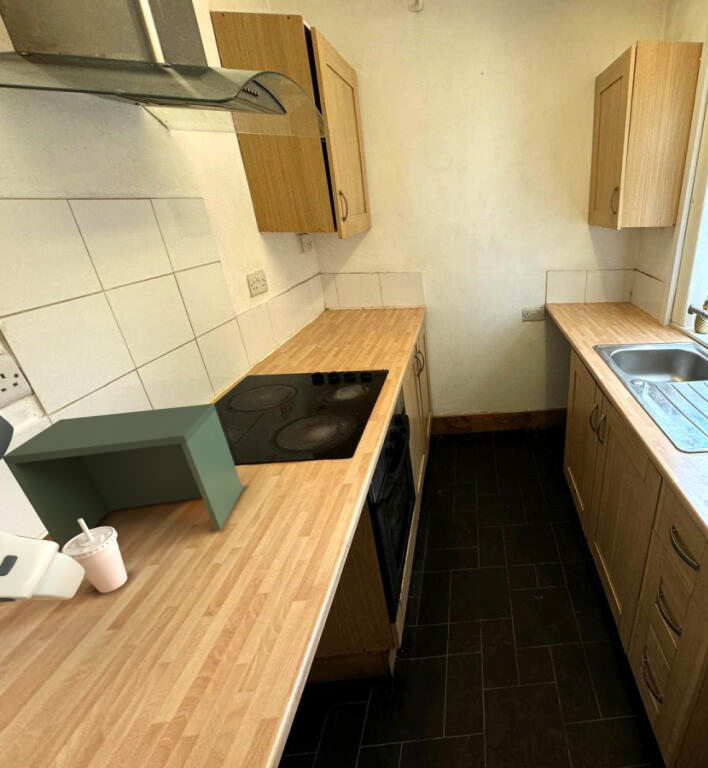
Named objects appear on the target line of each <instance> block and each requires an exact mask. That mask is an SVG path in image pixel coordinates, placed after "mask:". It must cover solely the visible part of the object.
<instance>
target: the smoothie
mask: <svg viewBox="0 0 708 768" xmlns="http://www.w3.org/2000/svg"><path fill="white" fill-rule="evenodd" d="M78 522H79V524H80V526H81V528H82V529H83V531H84V532H83V533H81V534H79V535H77V536H76V537H74V538H72V539H71V540H70V541H69V542H67V543H66V544H65V545H64V547H63V548H62V553H63V554H66V555H68V556H70V557H72V558H73V559H74V560H76V561H77V562H78V563H79V564H80V565H81V566H82V567H83V568H84V570H85V574H84V577H85V578H86V579H87V580H88V581H89V582H90V584H92V586H94V588H95V590H97V591H98V592H99V593H101V594H102V593H103V594H105V593H111V592H112V591H114V590H117V589H118V588H120V587H122V586H123V585H124V584H125V583H126V582H127V580H128V575H127V570H126V567H125V565H124V564H125V563H124V561H123V557H122V554H121V551H120V548H119V547H120V546H119V543H118V541H117V538H118V532H117V531H116V529H115V528H114V527H112V526H108V525H107V526H106V525H105V526H99V527H94V528H93V529H91V530H88V528H87V526H86V524H85V522H84V521H83V519H82V518H80V519H78Z"/></svg>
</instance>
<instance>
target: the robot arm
mask: <svg viewBox="0 0 708 768" xmlns="http://www.w3.org/2000/svg"><path fill="white" fill-rule="evenodd" d="M14 431H15V427H14V426H13V425H12V424H11V423H10V421H9V419H8V418H7V416H5V414H4V413H3V412H2V411H0V461H1V460H3V456H5V455H6V454H7V451H8V449H9V447H10V445H11V442H12V439H13V436H14ZM84 574H85V570H84V568H83V567H82V566H81V565H80V564H79V563H78V562H77V561H76V560H74V559H73V558H72V557H70V556H68V555H66V554H63V553H61V552H60V551H59V545H58V544H57V543H55V542H54V541H53V540H46V539H42V538H35V537H29V536H23V535H18V534H11V533H7V532H3V531H1V530H0V603H13V602H26V601H29V600H30V601H67V600H70V599H72V598H73V597H74V596H75V595H76V593H77V591H78V590H79V588H80V585H81V584H82V582H83V579H84V577H85V576H84Z"/></svg>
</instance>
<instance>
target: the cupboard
mask: <svg viewBox="0 0 708 768" xmlns="http://www.w3.org/2000/svg"><path fill="white" fill-rule="evenodd" d="M2 460H3V461H4V463H5V464H6V466H7V468H8V469H9V471H10V473H11V474H12V476H13V478H14V479H15V481H16V482H17V484H18V486H19V487H20V489H21V491H22V493H23V494H24V496H25V497H26V498H27V501H28V502H29V504H30V505H31V506H32V508H33V511H34V512H35V513H36V515H37V517H38V519H39V521H40V522H41V523H42V525H43V526H44V528H45V529H46V531H47V533H48V535H49V536H50V538H51V539H52V541H53V542H55V543H57V544H58V545H59V549H58V552H60V553H62V548H63V547H64V545H65V544H66V543H67V542H69V541H70V540H71V539H72V538H74V537H76V536H77V535H79V534H81V533H83V532H84V531H83V529H82V528H81V526H80V524H79V522H78V519H80V518H82V519H83V521H84V522H85V524H86V526H87V528H88V530H91V529H94V528H95V527H96V526H97V524H98V523H100V521H101V520H102V519H103V518H105V516H106V515H107V514H108V513H109V512H111V511H117V510H123V509H131V508H137V507H145V506H151V505H158V504H164V503H165V504H166V503H172V502H179V501H185V500H193V499H198V498H199V499H200V498H202V501H203V503H204V506H205V508H206V511H207V514H208V516H209V518H210V521H211V524H212V526H213V528H214V531H219V530H221V529H222V528H223V526H224V525H225V522H226V521H227V519H228V517H229V515H230V514H231V511H232V509H233V508H234V505H235V504H236V502H237V500H238V498H239V497H240V495H241V493H242V491H243V489H244V488H243V485H242V482H241V479H240V477H239V474H238V471H237V468H236V465H235V462H234V460H233V456H232V453H231V450H230V448H229V445H228V441H227V439H226V436H225V433H224V430H223V427H222V424H221V421H220V418H219V416H218V413H217V409H216V407H215V404H214V403H204V404H197V405H196V404H195V405H185V406H176V407H167V408H157V409H150V410H149V409H148V410H138V411H129V412H118V413H110V414H100V415H91V416H81V417H72V418H62V419H59V420H57V421H55V422H54V423H52V424H51V425H50V426H47V427H46V428H45V429H43V430H42V431H40V432H39V433H37V434H36V435H33V436H31V438H29V439H28V440H26V441H24V442H23V443H22V444H20V445H19V446H17V447H15V448H14V449H12V450H11V451H9V452H8V453H5V455H4V456H3V458H2Z"/></svg>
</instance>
